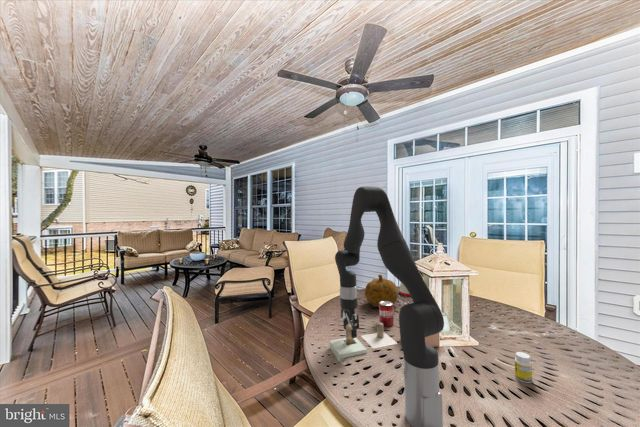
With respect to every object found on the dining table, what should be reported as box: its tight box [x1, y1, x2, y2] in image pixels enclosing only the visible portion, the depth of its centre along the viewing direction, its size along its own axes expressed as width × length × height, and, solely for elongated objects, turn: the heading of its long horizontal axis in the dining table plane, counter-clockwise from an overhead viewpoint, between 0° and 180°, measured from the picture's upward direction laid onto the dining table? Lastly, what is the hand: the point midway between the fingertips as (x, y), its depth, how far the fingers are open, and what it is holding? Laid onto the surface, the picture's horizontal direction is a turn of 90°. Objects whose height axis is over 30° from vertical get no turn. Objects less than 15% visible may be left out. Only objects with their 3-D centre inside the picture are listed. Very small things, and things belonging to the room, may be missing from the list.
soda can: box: [378, 301, 395, 328], centre depth 133 cm, size 7×7×12 cm
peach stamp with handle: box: [425, 332, 440, 348], centre depth 114 cm, size 11×11×15 cm
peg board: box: [329, 337, 368, 363], centre depth 111 cm, size 12×12×3 cm
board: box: [360, 321, 398, 350], centre depth 117 cm, size 12×12×8 cm
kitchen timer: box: [398, 282, 411, 297], centre depth 184 cm, size 14×14×15 cm
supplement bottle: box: [514, 351, 533, 384], centre depth 90 cm, size 5×5×8 cm
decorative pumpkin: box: [364, 274, 399, 308], centre depth 163 cm, size 20×21×20 cm
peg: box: [345, 324, 354, 345], centre depth 113 cm, size 3×3×10 cm
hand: (350, 333), depth 113 cm, fingers open, 8 cm apart
